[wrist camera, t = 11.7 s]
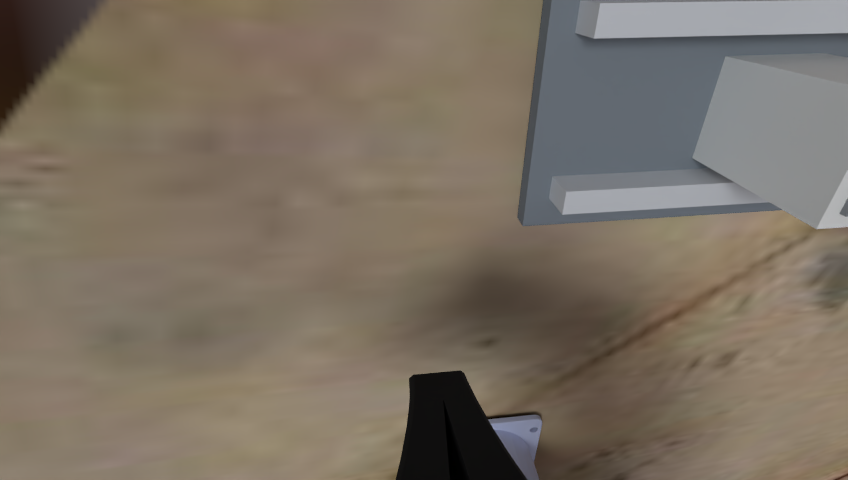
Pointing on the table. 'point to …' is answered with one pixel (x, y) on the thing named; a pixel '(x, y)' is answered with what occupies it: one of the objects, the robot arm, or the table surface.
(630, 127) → the rail dock
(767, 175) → the block
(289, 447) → the table surface
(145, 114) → the table surface
